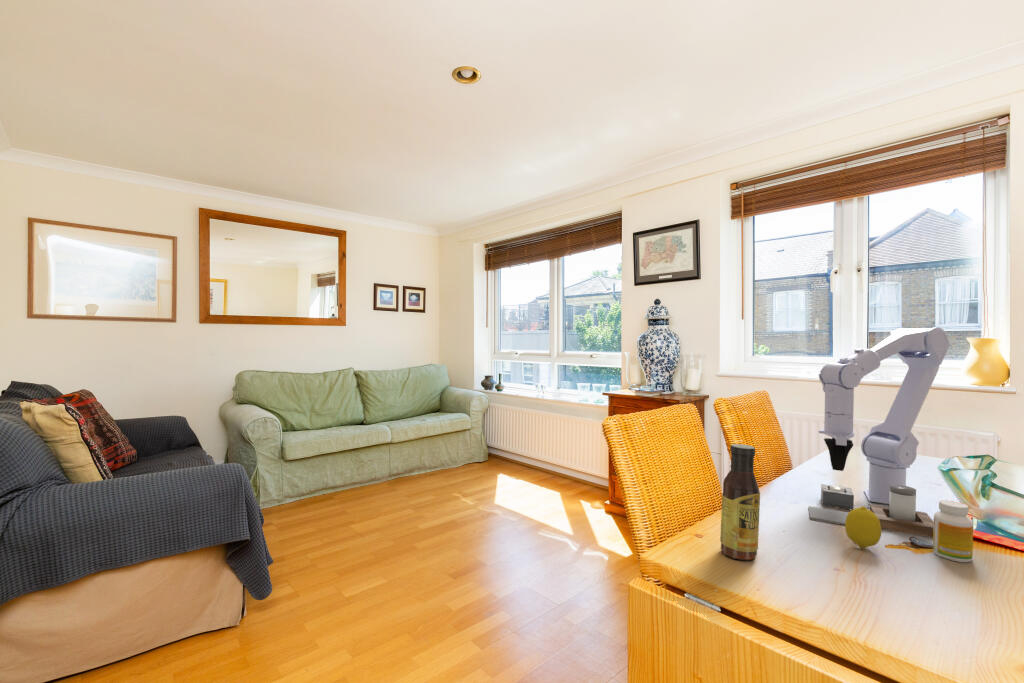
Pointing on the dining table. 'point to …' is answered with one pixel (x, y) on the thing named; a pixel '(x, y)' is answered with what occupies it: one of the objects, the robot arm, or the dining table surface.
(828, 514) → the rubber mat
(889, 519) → the walnut housing
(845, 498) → the plunger collar
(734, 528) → the sauce bottle
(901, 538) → the dining table surface
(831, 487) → the plunger button
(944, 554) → the supplement bottle
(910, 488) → the cylinder
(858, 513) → the lemon
